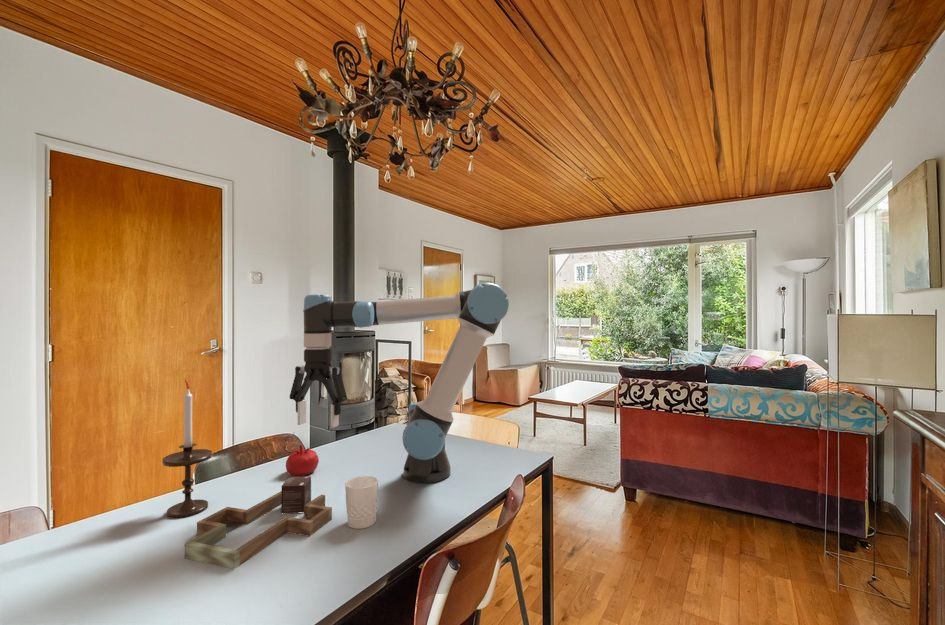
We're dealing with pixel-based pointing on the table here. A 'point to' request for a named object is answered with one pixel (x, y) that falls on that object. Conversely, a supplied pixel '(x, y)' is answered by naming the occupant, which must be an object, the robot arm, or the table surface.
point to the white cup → (361, 501)
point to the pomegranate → (302, 462)
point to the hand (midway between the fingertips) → (318, 425)
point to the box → (295, 494)
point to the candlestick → (187, 465)
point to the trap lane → (231, 518)
